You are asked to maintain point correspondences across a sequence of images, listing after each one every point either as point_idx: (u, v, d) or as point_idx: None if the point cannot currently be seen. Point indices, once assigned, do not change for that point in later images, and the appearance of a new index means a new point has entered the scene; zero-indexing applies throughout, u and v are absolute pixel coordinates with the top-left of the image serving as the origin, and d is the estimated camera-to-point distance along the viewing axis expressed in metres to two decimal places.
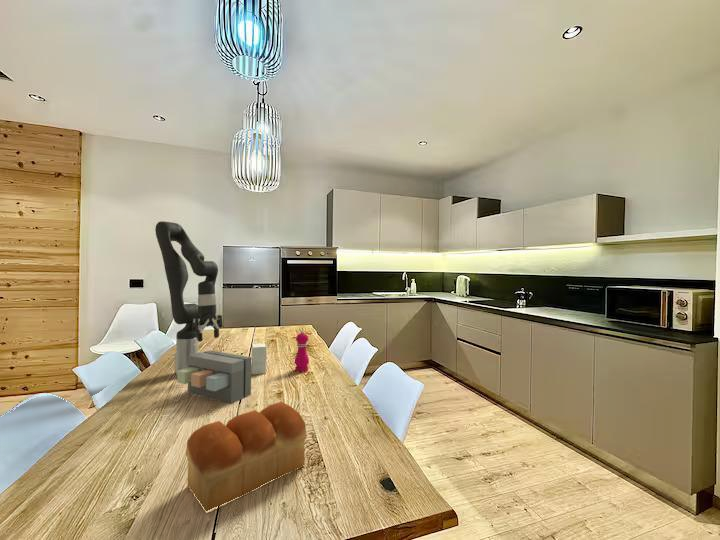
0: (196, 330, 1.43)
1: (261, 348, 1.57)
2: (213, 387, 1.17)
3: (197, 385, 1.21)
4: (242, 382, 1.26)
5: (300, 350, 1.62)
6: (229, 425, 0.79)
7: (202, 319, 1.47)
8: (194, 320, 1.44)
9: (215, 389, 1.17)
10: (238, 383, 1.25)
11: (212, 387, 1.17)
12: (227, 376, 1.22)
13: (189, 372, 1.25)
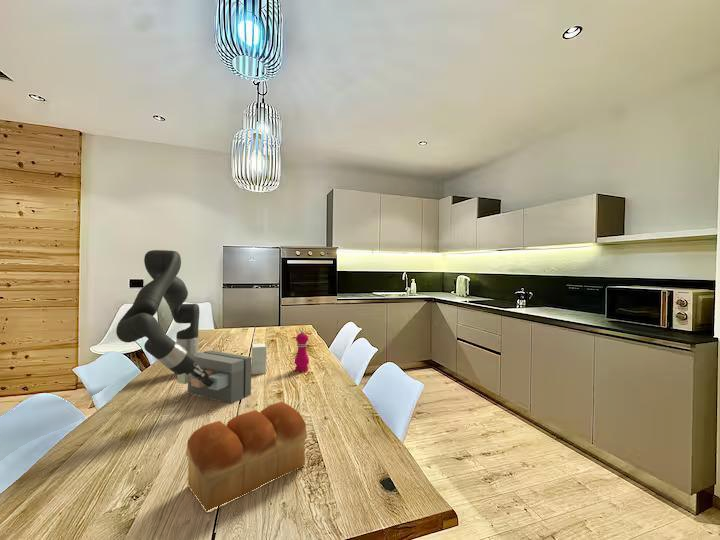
0: None
1: (261, 347, 1.57)
2: (216, 386, 1.18)
3: (197, 385, 1.21)
4: (242, 382, 1.26)
5: (300, 350, 1.62)
6: (229, 425, 0.79)
7: None
8: None
9: (217, 388, 1.18)
10: (238, 383, 1.25)
11: (214, 386, 1.18)
12: None
13: None
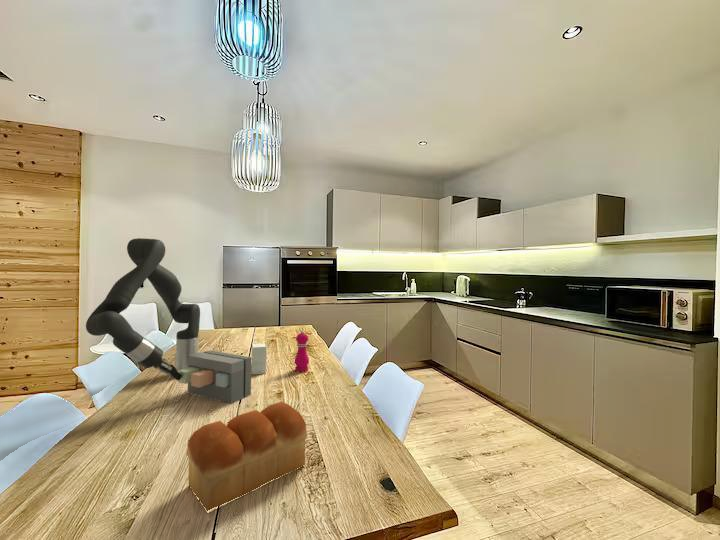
0: None
1: (261, 348, 1.57)
2: (223, 383, 1.21)
3: (197, 385, 1.21)
4: (242, 382, 1.26)
5: (300, 350, 1.62)
6: (230, 425, 0.79)
7: None
8: None
9: (224, 385, 1.21)
10: (238, 383, 1.25)
11: (221, 383, 1.21)
12: None
13: (189, 372, 1.26)
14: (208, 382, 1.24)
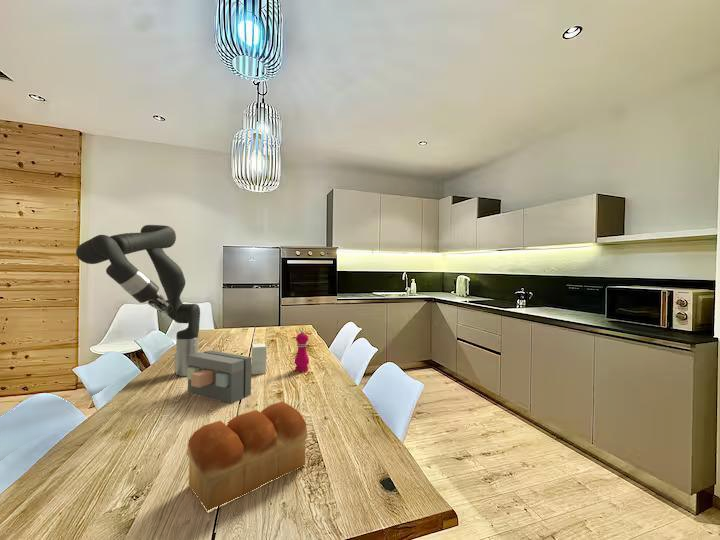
0: (159, 310, 1.18)
1: (261, 348, 1.57)
2: (223, 383, 1.21)
3: (197, 385, 1.21)
4: (242, 382, 1.26)
5: (300, 350, 1.62)
6: (230, 425, 0.79)
7: (148, 301, 1.16)
8: None
9: (224, 385, 1.21)
10: (238, 383, 1.25)
11: (221, 383, 1.21)
12: None
13: (198, 369, 1.29)
14: (208, 382, 1.24)
